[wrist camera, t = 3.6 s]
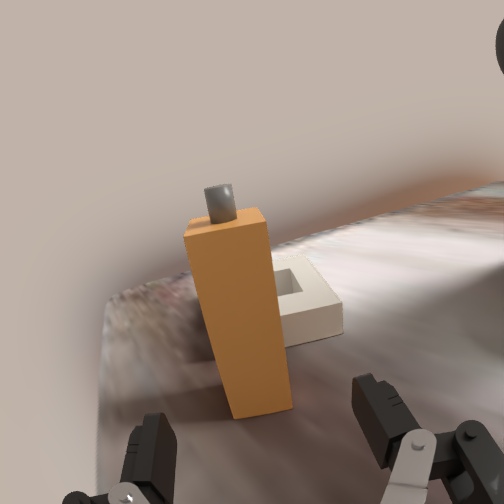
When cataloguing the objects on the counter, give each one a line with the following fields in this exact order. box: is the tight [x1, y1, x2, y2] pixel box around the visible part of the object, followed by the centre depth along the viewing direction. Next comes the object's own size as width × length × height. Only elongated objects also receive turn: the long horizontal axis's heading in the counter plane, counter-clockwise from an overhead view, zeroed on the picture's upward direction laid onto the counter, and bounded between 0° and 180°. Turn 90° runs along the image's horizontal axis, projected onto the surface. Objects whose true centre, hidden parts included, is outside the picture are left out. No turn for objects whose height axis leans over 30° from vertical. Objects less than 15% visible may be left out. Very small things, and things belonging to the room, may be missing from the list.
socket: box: [272, 254, 343, 347], centre depth 35 cm, size 14×12×4 cm
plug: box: [184, 184, 293, 419], centre depth 20 cm, size 4×4×16 cm
